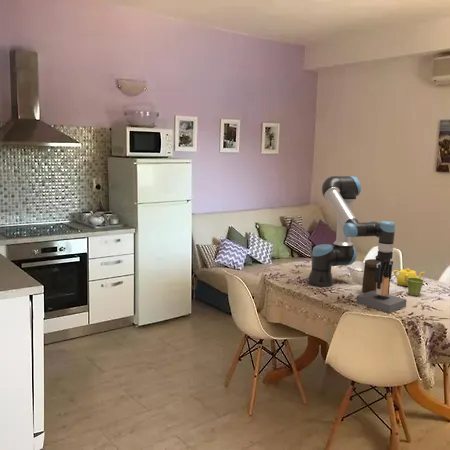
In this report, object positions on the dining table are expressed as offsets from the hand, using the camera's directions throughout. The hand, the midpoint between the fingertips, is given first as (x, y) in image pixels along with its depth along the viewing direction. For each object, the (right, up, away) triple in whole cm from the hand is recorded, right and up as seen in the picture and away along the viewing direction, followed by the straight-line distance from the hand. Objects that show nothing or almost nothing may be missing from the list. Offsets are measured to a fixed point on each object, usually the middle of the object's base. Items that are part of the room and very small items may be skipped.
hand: (381, 293), depth 275 cm
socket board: (0, -6, +1) cm, 6 cm away
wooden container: (+3, -3, +22) cm, 22 cm away
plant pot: (+25, -3, +21) cm, 33 cm away
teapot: (+28, 0, +39) cm, 48 cm away
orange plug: (0, 0, 0) cm, 0 cm away
